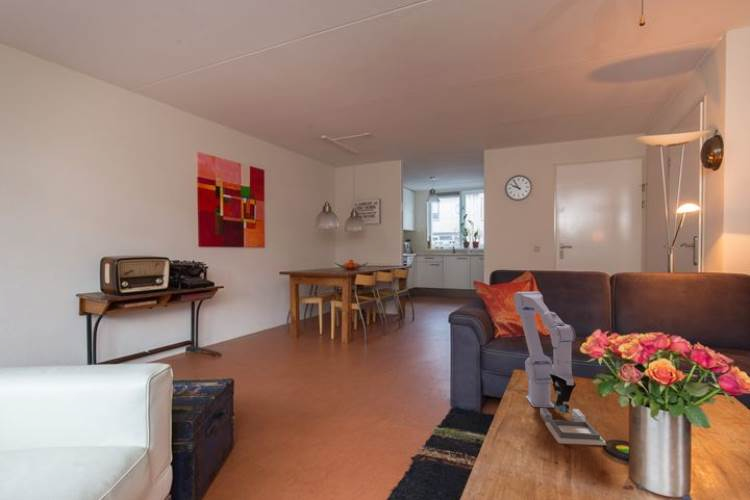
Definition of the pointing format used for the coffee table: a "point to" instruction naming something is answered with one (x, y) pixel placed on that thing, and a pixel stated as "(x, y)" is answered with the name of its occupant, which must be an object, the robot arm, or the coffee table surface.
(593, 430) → the port dock
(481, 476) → the coffee table surface
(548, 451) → the coffee table surface
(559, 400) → the push button
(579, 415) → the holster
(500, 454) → the coffee table surface
